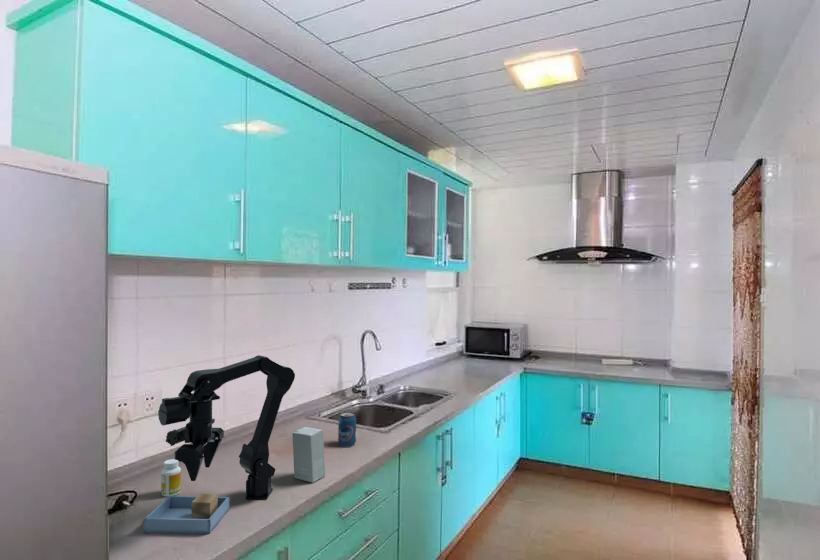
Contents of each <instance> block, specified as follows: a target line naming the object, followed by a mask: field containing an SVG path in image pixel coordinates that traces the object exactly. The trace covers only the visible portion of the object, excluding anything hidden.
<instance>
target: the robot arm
mask: <svg viewBox="0 0 820 560" xmlns="http://www.w3.org/2000/svg"><path fill="white" fill-rule="evenodd" d="M258 372H261V373H262V374H264V375H265V376H266V382H265V383H266V391H267V393H266V396H265V398H264V401H263V405H262V408H261V411H260V414H259V418H258V421H257V424H256V426H255V430H254V433H253V436H252V439H251V440H250V441H249V442H248V444H246V443H243V444H242V447H241V452H240V454H239V455H238V458H239V462H238V463H239V465H240V467H241V468H242V469H244V470H245V471H244V472H245V473H246V474H248V475H247V479H246V481H245V494H246V495H245V499H246V500H267V499H268V498H269V497H270V495H271V494H272V492H273V490H274V488H273V487H272V477H274V475H275V472H276V468H275V467H273V465H271V464H270V463H269V459H270V447H269V443H270V439H271V436H272V431H273V429H274V426H275V422H276V420H277V416H278V413H279V410H280V407H281V404H282V401H283V398H284V396H285V395H286V394H287V393H288V392H289V391H290V389H291V387H292V385H293V383H294V381H295V377H296V373H295V371H294V369H292V368H291V367H288V366H285V365H281V364H279V363H277V362H275V361H273V360H272V359H270V358H269V357H267V356H264V355H260V354H258V355H256V356H253V357H251V358H248V359H245V360H242V361H239V362H236V363H232V364H230V365H226V366H223V367H220V368H207V369H201V370H195V371H192V372H191V373H190V374H189V376H188V378H187V379H186V383H185V384H184V386H183V388H182V389H181V390H180V392H179V393H178V396H175V397H164V398H162V399H161V403H160V405H159V409H158V410H157V411H158V413H157V415H158V419H159V423H160V425H161V426H167V425H173V424H178V423H182V422H186V421H187V420H188V419H189V422H187V423H186V424H185V426H182V427H180V428H178V429H173V430H170V431H167V433H166V436H165V438H166V439H165V442H166V443H167V444H169V445H170V447H172V446H173V447H174V446H175V445H176V444H180V443H182V442H184V444H182V445H181V446H180V447H178V448H177V449H176V450H175V452H174V459H175V460H178V462H180V463H183V464H184V465H185V467H186V471H187V473H188V476H189V478H190V481H191V482H195V481H196V480H197V477H198V475H199V473H200V472H199V471H200V469H201V466H202V464H203V462H204V466H205V468H210V467H211V464H212V463H213V460H214V458H215V456H216V453H217V451H218V449H219V447H220V446H221V443H222V441H223V438H225V430H224V429H223V428H222V427H213V425H214V423H215V421H216V419H215V418H213V401H216V400H220V399H221V396H219V395H218V394H217V393H216V392H215V391H216V390H218V389H220V388H221V387H222V386H224V384H226V383H228V382H231V381H234V380H238V379H239V378H243V377H246V376H248V375H251V374H254V373H258ZM192 392H193V393H192ZM190 443H191V444H190ZM203 460H204V461H203Z"/></svg>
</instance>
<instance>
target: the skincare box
mask: <svg viewBox="0 0 820 560" xmlns="http://www.w3.org/2000/svg"><path fill="white" fill-rule="evenodd" d="M324 445H325V444H324V430H323V429H319V428H313V427H308V426H304V427H302V428H298V429H297V430H295V431H293V432H292V452H293V454H292V455H293V472H294V473H293V475H294V479H297V480H301V481H305V482H309V483H312V484H313V483H315V482H316V481H318V480H320V479H322V478H324V477H326V468H325V467H326V464H325V446H324Z"/></svg>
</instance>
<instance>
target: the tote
mask: <svg viewBox="0 0 820 560" xmlns="http://www.w3.org/2000/svg"><path fill="white" fill-rule="evenodd" d="M197 496H198V495H197ZM197 496H194V495H188V496H187V495H175V496H169V497H166V499H165V500H164V501H162V502H161V503H160V504H159V505H158V506H157V507H156V508H154V509H153V510H152V512H150V513H148V515H147V516H145V517H144V518H143V533H151V534H152V533H153V534H154V533H155V534H156V533H157V534H158V533H159V534H196V535H198V534H199V535H200V534H201V535H203V534H204V535H206V534H207V535H209V534H211V533H212V532H213V530H214V529H215V528H216V527H217V526H218V525H219V523H220V522H221V521H222V520H223V518H224V517H225V516H226V515H227V513H228V512H229V511H230V509H231V508H230V507H231V505H230V503H231V501H230V500H231V497H230V496H218V509H217V510H216V511H215V512H214V513H213V515H212V516H211V517H210V518H209V519H192V501H193V500H194V499H195V498H196V497H197Z"/></svg>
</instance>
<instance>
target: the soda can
mask: <svg viewBox="0 0 820 560" xmlns="http://www.w3.org/2000/svg"><path fill="white" fill-rule="evenodd" d="M337 422H338V424H337V425H338V428H337V429H338V431H337V432H338V434H337V435H338V437H337V443H338V444H339V446H340V447H342V448H350V447H351V448H352V447H354V446H355V444H356V442H357V416H356V413H354V412H352V411H351V412H349V411H347V412H342V413H340V414H339V417H338V421H337Z"/></svg>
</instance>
